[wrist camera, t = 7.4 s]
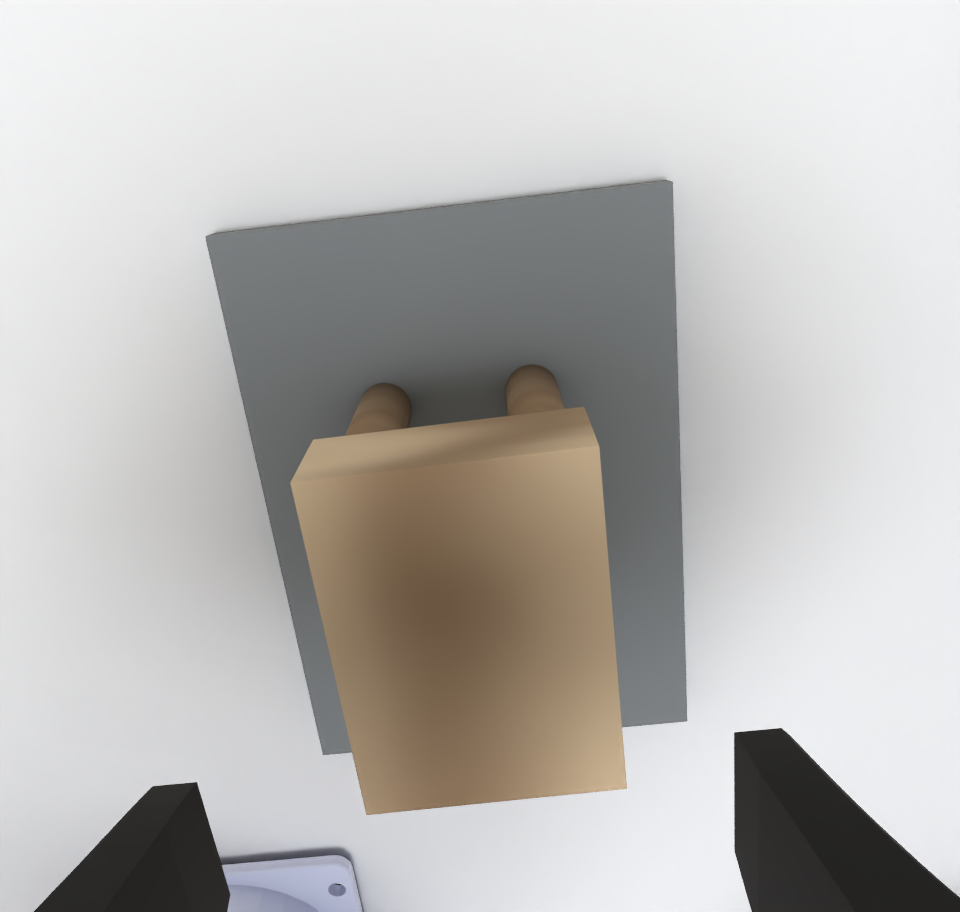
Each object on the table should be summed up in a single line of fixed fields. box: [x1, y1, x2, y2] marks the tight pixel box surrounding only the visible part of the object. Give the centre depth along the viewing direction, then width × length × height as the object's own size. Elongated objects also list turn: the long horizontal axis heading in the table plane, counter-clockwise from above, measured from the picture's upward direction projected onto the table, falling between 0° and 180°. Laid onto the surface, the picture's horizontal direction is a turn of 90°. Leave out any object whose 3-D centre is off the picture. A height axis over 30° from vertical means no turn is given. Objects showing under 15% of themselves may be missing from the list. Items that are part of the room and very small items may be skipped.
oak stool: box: [290, 364, 627, 815], centre depth 17 cm, size 5×7×6 cm
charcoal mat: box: [206, 180, 687, 755], centre depth 21 cm, size 14×10×1 cm
